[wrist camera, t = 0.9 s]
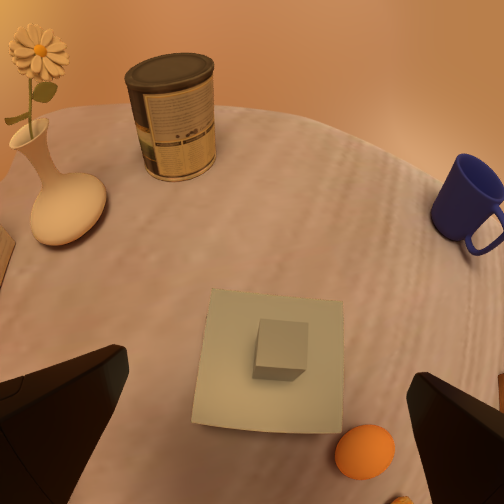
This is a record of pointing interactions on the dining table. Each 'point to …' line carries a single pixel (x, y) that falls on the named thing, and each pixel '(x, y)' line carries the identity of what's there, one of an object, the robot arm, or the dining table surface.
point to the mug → (468, 202)
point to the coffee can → (174, 114)
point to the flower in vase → (36, 149)
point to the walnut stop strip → (501, 391)
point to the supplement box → (5, 251)
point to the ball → (364, 452)
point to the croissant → (402, 500)
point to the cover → (271, 364)
